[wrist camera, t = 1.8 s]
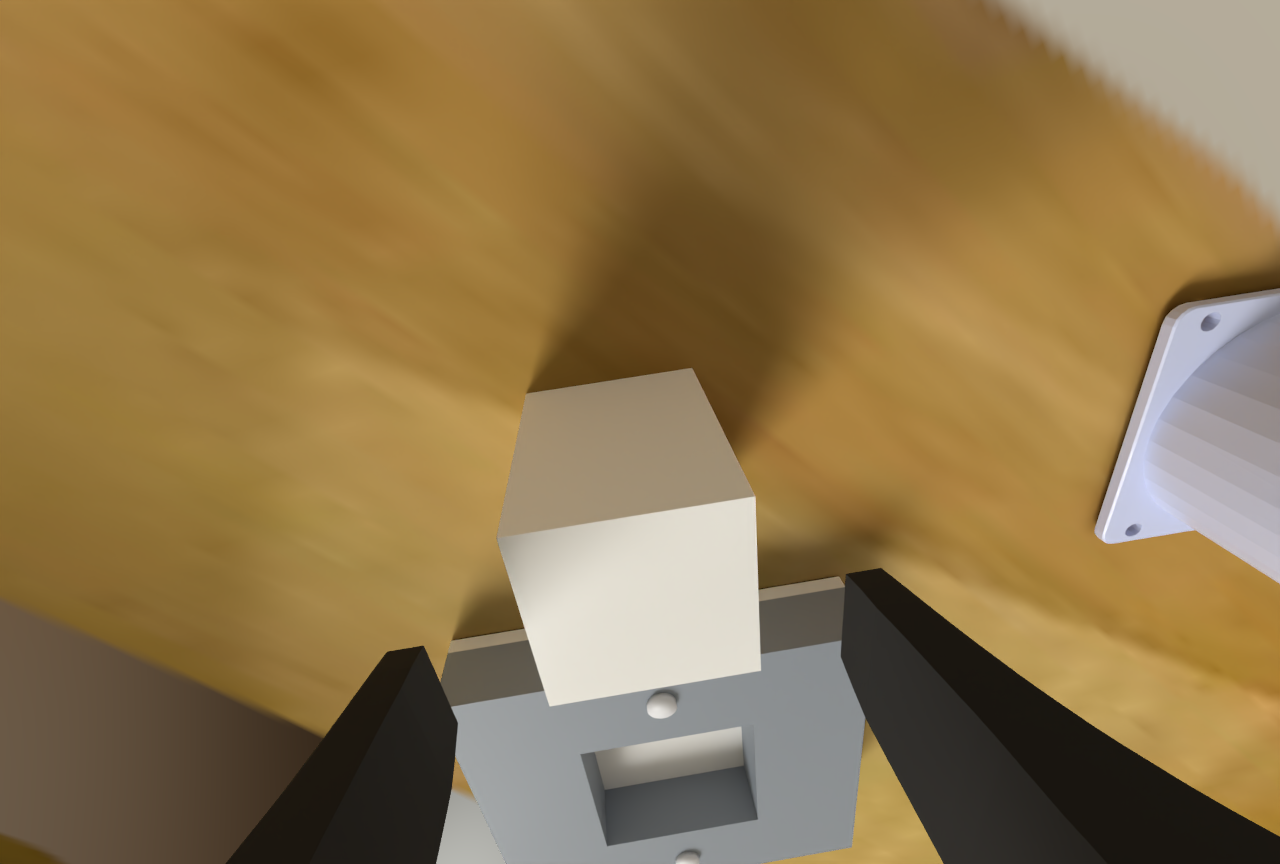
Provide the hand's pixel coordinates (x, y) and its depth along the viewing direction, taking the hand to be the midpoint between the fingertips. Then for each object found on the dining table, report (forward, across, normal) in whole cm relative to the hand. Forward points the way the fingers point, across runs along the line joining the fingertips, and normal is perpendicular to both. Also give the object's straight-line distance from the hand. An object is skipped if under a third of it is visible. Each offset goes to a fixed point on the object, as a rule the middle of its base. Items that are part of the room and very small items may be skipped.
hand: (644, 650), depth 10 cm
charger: (+7, 0, 0) cm, 7 cm away
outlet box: (+7, 0, +12) cm, 14 cm away
